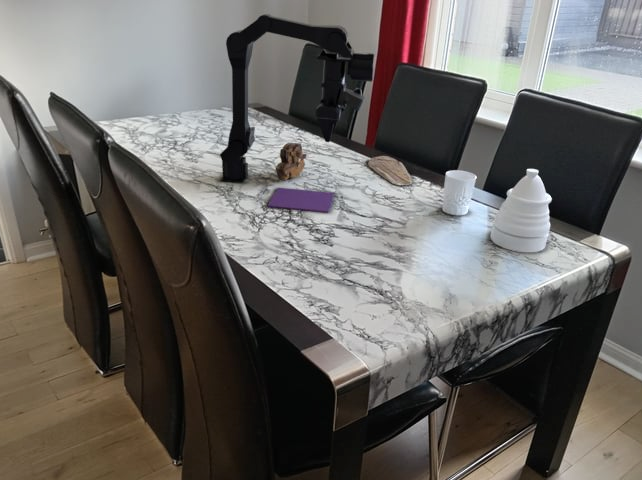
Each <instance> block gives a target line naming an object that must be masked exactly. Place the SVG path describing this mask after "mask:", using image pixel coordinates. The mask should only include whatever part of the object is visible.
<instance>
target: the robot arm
mask: <svg viewBox="0 0 642 480" xmlns="http://www.w3.org/2000/svg"><path fill="white" fill-rule="evenodd" d="M266 33H270V34H273V35H274V34H275V35H278V36H284V37H288V38H293V39H296V40H302V41H306V42H310V43H312V44H314V45H316V46H318V47H320V48H321V49H322V50H321V52H320V53H319V54H318V55H317V56H316V60H318V61H320V60H321V61H323V69H322V70H323V72H322V82H321V86H320V87H321V98H320V104H319V105H318V106H317V107H316V109H315V118H316V120H317V123H318V125H319V128H320V130H321V133H322V136H323V139H324V142H325V143H330V142H331V138H332V135H334V134H335V131H336V128H337V124H338V122H339V121H340V119H341V114H342V113H343V112H344V111H345V110H346V107H347V106H348V107H350V108H352V109H353V110H354V111H356V112H359V111H360V110H361V108H362V106H363V103H364V101H365V98H366V97H365V96H364V95H362V94H363V93H362V92H363V91H362V89H361V88H359V87H355V89H353V90H352V89H348V88H347V83H346V74H347V77H349V78H350V81H357V82H358V81H359V82H369V83H370V82H371V83H373V81H374V71H375V64H374V63H375V54H374V53H371V52H367V53H361V52H355V50H354V48H353V46H352V45H351V43H350V42H349V34H348V33H349V32H348V31H347V28H345V27H344V26H341V25H336V24H335V25H333V24H331V25H330V24H328V25H327V24H326V25H323V24H322V25H317V24H316V25H315V24H309V23H305V22H300V21H296V20H292V19H287V18H282V17H278V16H274V15H271V14H269V13H264V14H262V15H259V16H258V18H257V19H255V20H254V21H253V22H252V23H250V24H249V25H248V26H246V27H244V28H243V29H239V30H237V31H234V32H232V33H230V34H229V35H228V36H227V38H226V40H225V46H226V52H227V57H228V60H229V64H230V65H231V66H230V67H231V85H232V86H231V88H232V89H231V90H232V91H231V92H232V93H231V96H232V97H231V100H232V101H231V102H232V103H231V104H232V123H231V126H230V130H229V134H228V141H227V146H226V147H225V148H224V150H223V151H222V152H221V153H220V154H219V157H220V159H221V168H222V169H221V171H222V172H221V173H222V177H221V178H220V182H229V183H230V182H231V183H238V184H239V183H240V184H242V183H244V182H245V180H246V179H247V178H248V177H249V163H248V162H247V157H246V156H245V155H246V154H247V153H248V151H249V150H250V149H251V148H252V147H253V144H254V142H256V138H255V131H256V127H255V126H251V124H250V122H249V67H250V63H251V59H252V56H253V49H254V43H256V42H257V41H258V40H259V39H260V38H262V37H263V36H264V35H265V34H266ZM328 51H330V52H328ZM339 55H340V56H339ZM346 66H347V67H346ZM346 68H347V70H346ZM346 71H347V73H346Z"/></svg>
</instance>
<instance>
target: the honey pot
mask: <svg viewBox="0 0 642 480" xmlns="http://www.w3.org/2000/svg"><path fill="white" fill-rule="evenodd" d="M539 173H540V172H539V169H536V168H527V169H526V175H524V176H523V177H522V178H521V179H520V180H519V181H518V182H517V183H516V184H515V185H514V187H512V188H510V189H508V190H507V191H506V196H507V197H506V199H505V200H504V201H502V203H501V206H500V207H499V209H498V212H497V213H496V214H495V216H494V218H493V219H494V220H493V223H492V227H491V232H490V240H491V242H493V243H494V244H495V245H497V246H499V247H501V248H503V249H506V250H509V251H512V252H513V251H514V252H519V253H539V252H541V251H543V250H544V249H545V248H546V245H547V242H548V237H549V233H550V229H551V222H550V219H551V217H550V209H549V204H551V203H552V200H553V198H552V197H551V195H550V194H549V193H547V191H546V188H545V185H544V183H543V180H542V179H541V177H540V176H539Z"/></svg>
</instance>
